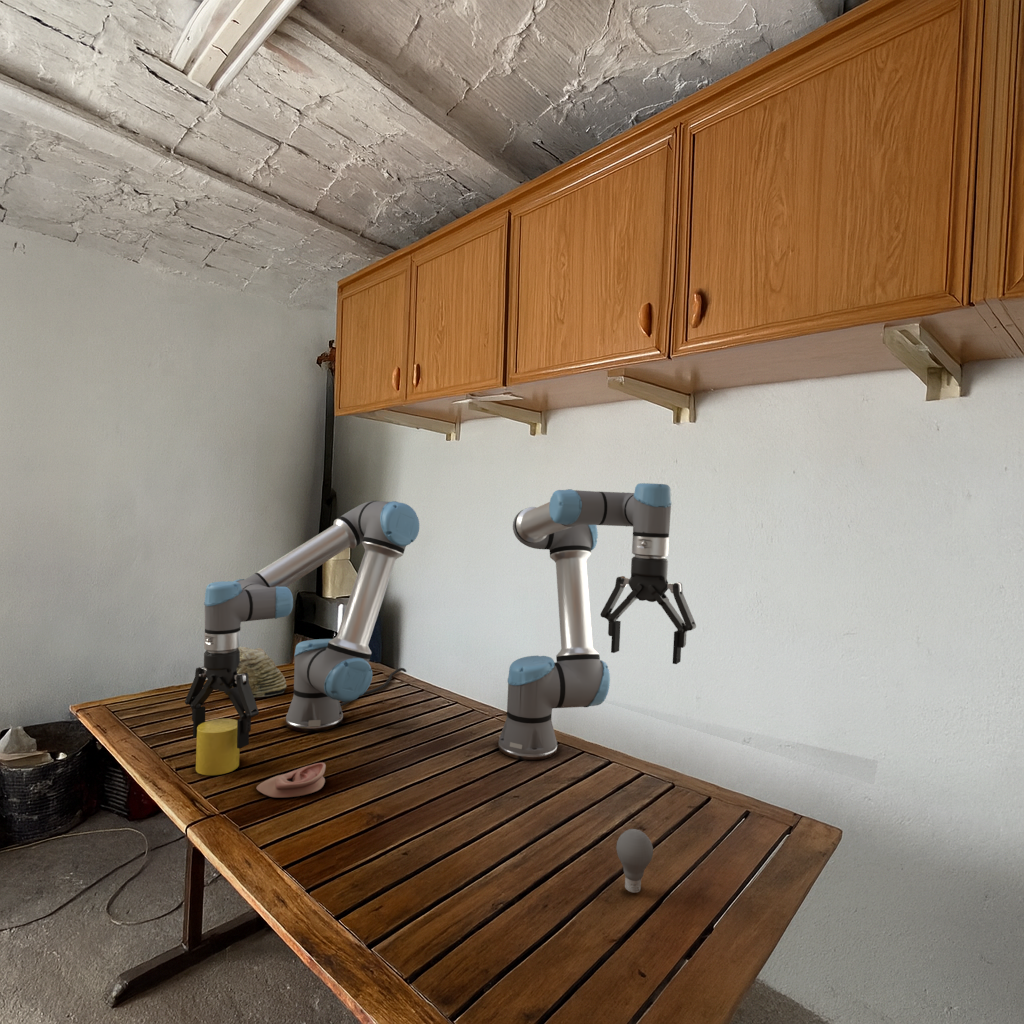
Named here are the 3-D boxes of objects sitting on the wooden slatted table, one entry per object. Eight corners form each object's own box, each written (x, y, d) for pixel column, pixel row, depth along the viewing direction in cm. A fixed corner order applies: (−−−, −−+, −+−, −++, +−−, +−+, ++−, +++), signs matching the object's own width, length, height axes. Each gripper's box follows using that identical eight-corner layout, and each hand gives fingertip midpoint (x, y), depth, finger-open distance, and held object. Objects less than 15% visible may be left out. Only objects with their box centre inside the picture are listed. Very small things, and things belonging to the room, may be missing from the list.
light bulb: (610, 879, 108) (613, 822, 108) (644, 879, 109) (647, 822, 109) (619, 902, 102) (622, 840, 102) (655, 901, 103) (658, 840, 103)
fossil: (218, 695, 195) (220, 647, 195) (278, 685, 208) (279, 640, 207) (228, 703, 189) (230, 653, 188) (289, 692, 201) (290, 645, 201)
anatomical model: (248, 775, 133) (279, 754, 144) (247, 794, 133) (278, 771, 144) (306, 783, 130) (332, 761, 142) (305, 802, 130) (332, 779, 142)
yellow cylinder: (247, 764, 148) (249, 723, 148) (213, 778, 140) (215, 735, 140) (221, 755, 152) (222, 715, 152) (186, 769, 144) (188, 727, 144)
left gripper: (169, 646, 147) (167, 736, 147) (251, 660, 137) (249, 757, 138) (196, 639, 154) (194, 726, 154) (276, 652, 144) (274, 744, 145)
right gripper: (588, 552, 137) (583, 650, 137) (704, 563, 123) (698, 671, 124) (603, 551, 143) (598, 644, 144) (714, 561, 130) (709, 664, 130)
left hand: (220, 740), depth 146 cm, fingers open, 13 cm apart
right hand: (644, 657), depth 134 cm, fingers open, 13 cm apart
